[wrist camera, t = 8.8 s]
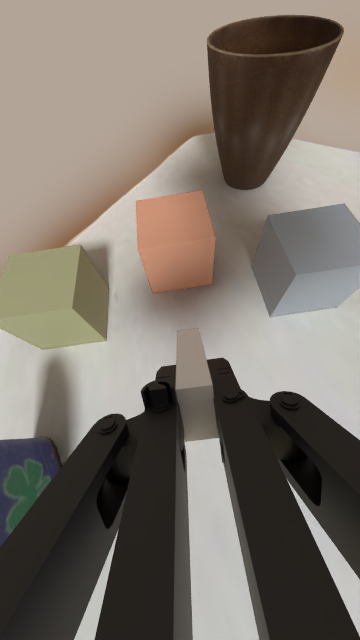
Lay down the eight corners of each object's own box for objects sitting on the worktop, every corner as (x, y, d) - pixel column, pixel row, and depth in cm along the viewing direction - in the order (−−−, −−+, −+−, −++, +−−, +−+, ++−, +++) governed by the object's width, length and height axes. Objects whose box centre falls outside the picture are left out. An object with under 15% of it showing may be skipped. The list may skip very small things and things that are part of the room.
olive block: (53, 296, 30) (8, 255, 23) (109, 288, 30) (80, 244, 23) (43, 350, 26) (-15, 321, 19) (106, 340, 26) (71, 308, 19)
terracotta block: (149, 250, 32) (135, 200, 25) (201, 242, 32) (202, 190, 25) (153, 293, 29) (137, 249, 22) (211, 284, 29) (215, 237, 22)
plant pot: (277, 151, 42) (317, 7, 27) (300, 198, 35) (369, 39, 21) (201, 160, 42) (201, 25, 28) (209, 208, 36) (214, 62, 21)
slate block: (251, 267, 29) (267, 215, 22) (309, 258, 29) (344, 203, 22) (269, 317, 26) (296, 274, 19) (336, 307, 25) (388, 261, 18)
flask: (29, 444, 22) (-106, 456, 12) (57, 429, 22) (-52, 430, 12) (43, 561, 17) (-145, 720, 8) (77, 541, 18) (-63, 670, 8)
